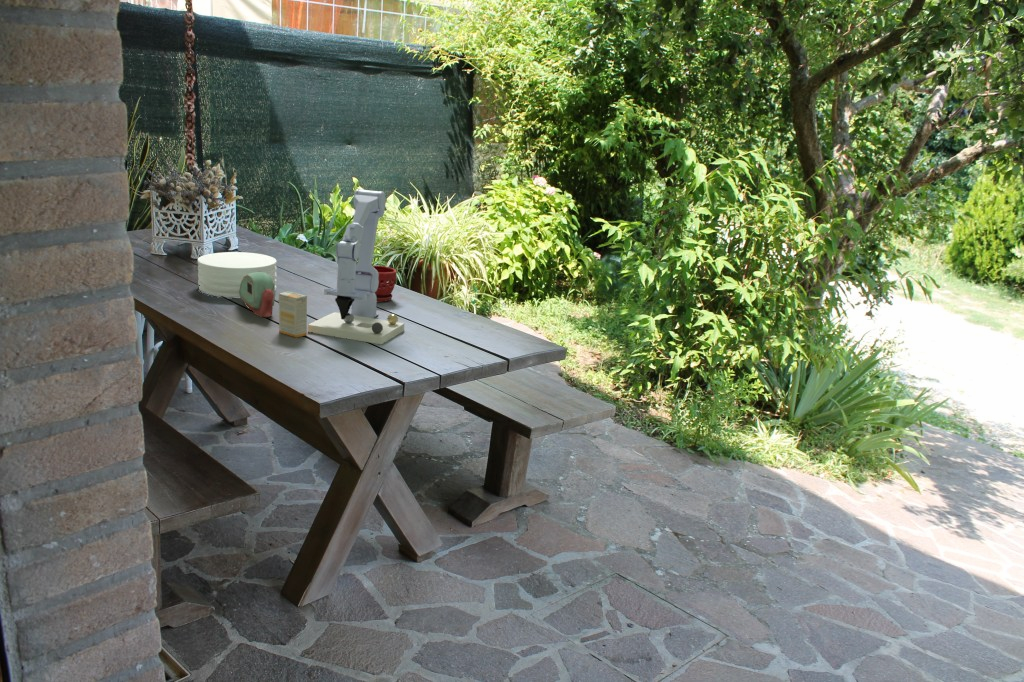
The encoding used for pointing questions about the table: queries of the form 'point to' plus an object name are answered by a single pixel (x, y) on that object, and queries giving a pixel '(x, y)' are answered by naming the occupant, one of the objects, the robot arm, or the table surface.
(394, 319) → the brass ball
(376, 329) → the black rubber ball
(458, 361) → the table surface
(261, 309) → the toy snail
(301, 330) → the supplement box
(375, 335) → the hole plate
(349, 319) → the steel ball
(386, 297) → the plant pot
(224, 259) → the plate stack
